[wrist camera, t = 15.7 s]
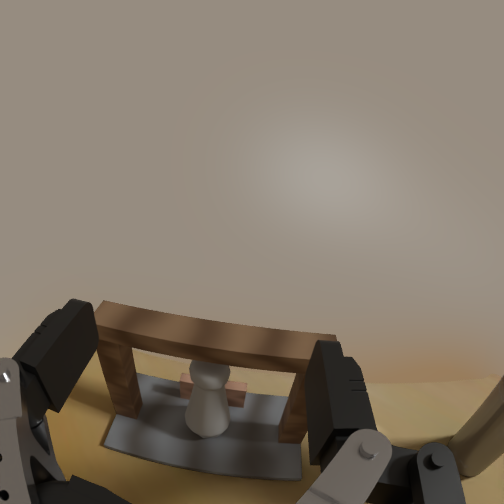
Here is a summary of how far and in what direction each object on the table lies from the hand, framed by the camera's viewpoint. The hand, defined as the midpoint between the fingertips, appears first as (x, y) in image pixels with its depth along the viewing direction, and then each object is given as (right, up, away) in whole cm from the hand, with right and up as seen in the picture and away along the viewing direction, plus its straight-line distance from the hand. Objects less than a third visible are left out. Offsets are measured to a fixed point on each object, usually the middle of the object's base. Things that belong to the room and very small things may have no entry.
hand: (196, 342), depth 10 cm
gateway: (-4, -21, +26) cm, 33 cm away
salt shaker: (-4, -20, +26) cm, 33 cm away
